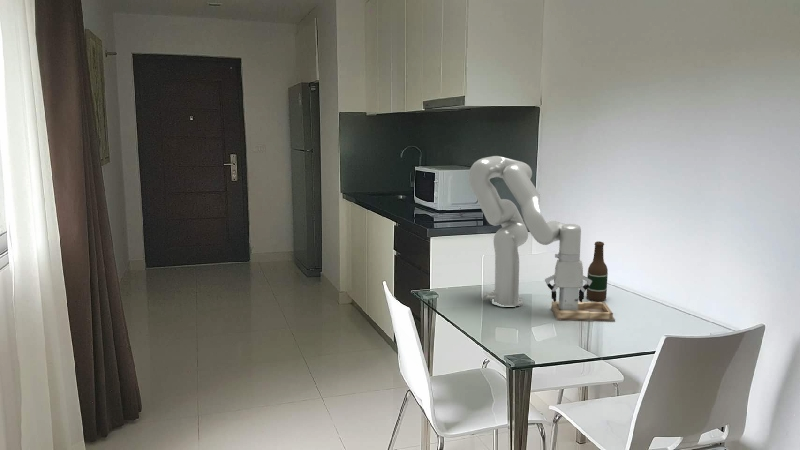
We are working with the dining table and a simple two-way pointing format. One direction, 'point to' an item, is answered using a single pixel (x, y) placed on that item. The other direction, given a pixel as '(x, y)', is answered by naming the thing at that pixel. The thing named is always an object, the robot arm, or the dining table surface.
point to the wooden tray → (584, 312)
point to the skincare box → (568, 299)
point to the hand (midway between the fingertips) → (567, 300)
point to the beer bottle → (597, 275)
